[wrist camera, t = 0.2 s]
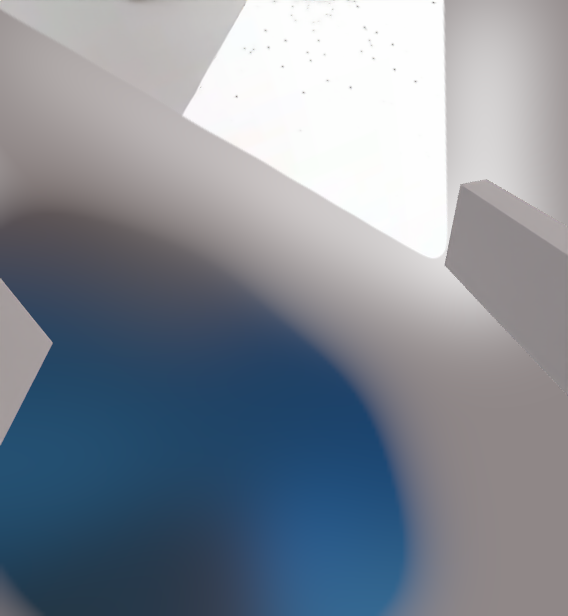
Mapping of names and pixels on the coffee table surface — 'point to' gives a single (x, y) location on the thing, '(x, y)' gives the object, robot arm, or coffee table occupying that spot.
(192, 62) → the coffee table surface
